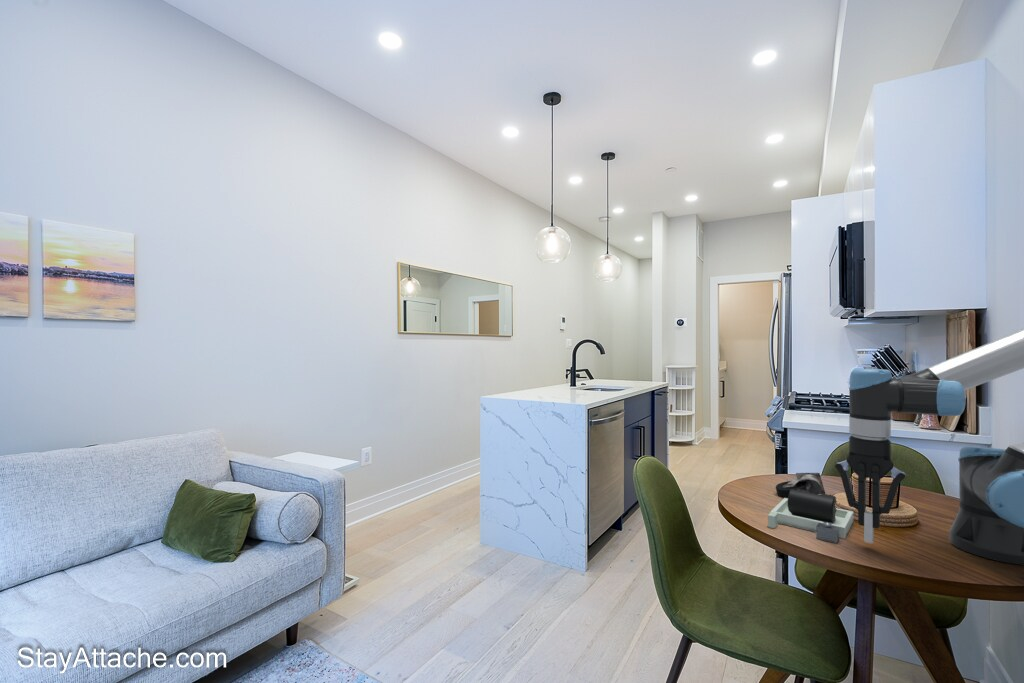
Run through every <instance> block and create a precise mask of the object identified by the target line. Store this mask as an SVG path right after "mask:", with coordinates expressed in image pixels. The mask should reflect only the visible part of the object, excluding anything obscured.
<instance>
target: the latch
mask: <svg viewBox="0 0 1024 683" xmlns="http://www.w3.org/2000/svg"><path fill="white" fill-rule="evenodd" d="M815 534H816V539H817V540H821V541H824V542H825V541H826V542H829V543H834V544H837V543H838V541H839V539H840V538H839V527H837V526H832V524H831V523H830V522H824V524H823V523H818V525H817V526H816V532H815Z"/></svg>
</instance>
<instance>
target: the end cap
mask: <svg viewBox="0 0 1024 683" xmlns="http://www.w3.org/2000/svg"><path fill="white" fill-rule="evenodd" d="M787 499H788V510H789V512H791V514H792V515H796V516H800V517H805V518H809V519H814V520H818V521H822V522H830V523H831V524H833V523H834V522H835V520H836V518H835V513H836V511H837V510H836V508H837V507H836V504H837V502H838V501H837V497H836V496H835V495H833V494H827V493H826V492H825V493H824V494H814V493H809V491H807V490H802V489H797V490H793V489H791V490H790V492H789V495H788V498H787Z"/></svg>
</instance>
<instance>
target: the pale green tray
mask: <svg viewBox="0 0 1024 683" xmlns="http://www.w3.org/2000/svg"><path fill="white" fill-rule="evenodd" d="M835 508H836V510H837V511H836V513H835V518H836V520H835V522H834V523H833V524H832V526H837V527H839V539H845V540H846V537H847V535H848V533H849V531H850V529H851V527H852V525H853V523H854V511H852V510H847V509H842V508H837V507H835ZM818 523H823V524H824V522H822V521H818V520H814V519H809V518H805V517H800V516H796V515H792V514H791V512H789V510H788V498H783V499H781V501H780V502H779V503H778V504H777V505H776V506H774V508H772V509H771V511H770V512H769V513H768V514H767V527H768V528H770V529H776V528H777V527H778V526H779V524H780V525H782V526H783V525H784V526H788V527H793V528H795V529H800V530H806V531H810V532H814V533H816V526H817V525H818Z"/></svg>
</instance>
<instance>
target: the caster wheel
mask: <svg viewBox="0 0 1024 683" xmlns="http://www.w3.org/2000/svg"><path fill="white" fill-rule="evenodd" d="M795 476H796V479H791V480H789V481H788V480H787V481H783V482H780V483H777V484H776V485H775V490H776V493H777V496H778V497H780V498H783V499H784V498H787V499H788V495H789V492H790V490H791V489H793V490H797V489H802V490H807V491H809V493H814V494H819V495H821V494H824V493H825V494H826V490H825V486H824V484H823V480H822V476H821V474H820V473H819V472H796V473H795Z"/></svg>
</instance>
